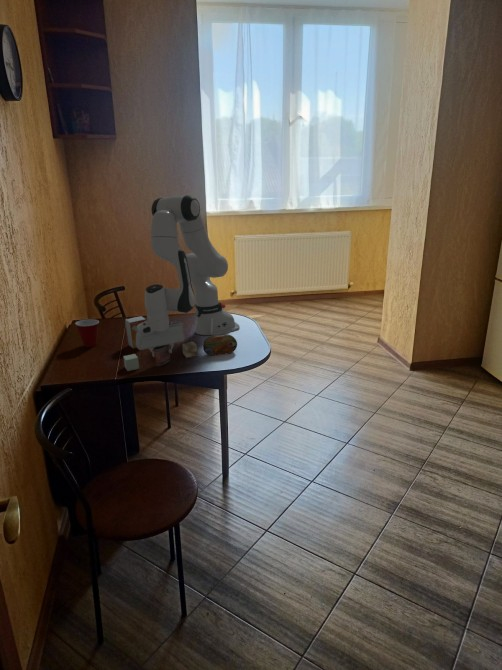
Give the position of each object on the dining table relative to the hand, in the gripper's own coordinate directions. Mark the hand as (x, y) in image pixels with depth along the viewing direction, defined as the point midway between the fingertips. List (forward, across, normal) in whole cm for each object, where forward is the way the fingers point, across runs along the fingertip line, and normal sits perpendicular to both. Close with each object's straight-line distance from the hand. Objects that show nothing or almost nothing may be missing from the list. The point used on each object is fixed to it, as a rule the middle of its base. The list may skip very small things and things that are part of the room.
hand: (162, 354), depth 199 cm
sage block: (+4, +13, -2) cm, 14 cm away
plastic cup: (+4, +24, -40) cm, 47 cm away
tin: (+4, -25, +4) cm, 26 cm away
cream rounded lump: (+4, -13, -2) cm, 14 cm away
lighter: (+4, 0, 0) cm, 4 cm away
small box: (+4, +4, -27) cm, 28 cm away
